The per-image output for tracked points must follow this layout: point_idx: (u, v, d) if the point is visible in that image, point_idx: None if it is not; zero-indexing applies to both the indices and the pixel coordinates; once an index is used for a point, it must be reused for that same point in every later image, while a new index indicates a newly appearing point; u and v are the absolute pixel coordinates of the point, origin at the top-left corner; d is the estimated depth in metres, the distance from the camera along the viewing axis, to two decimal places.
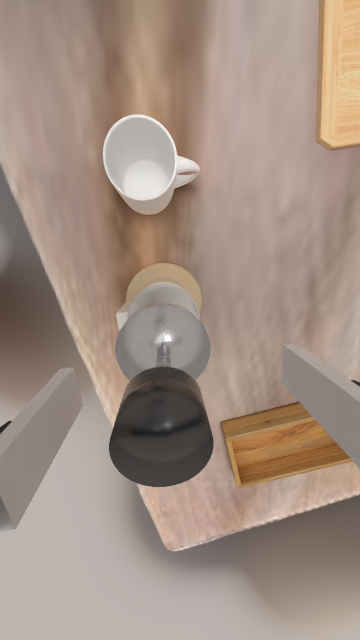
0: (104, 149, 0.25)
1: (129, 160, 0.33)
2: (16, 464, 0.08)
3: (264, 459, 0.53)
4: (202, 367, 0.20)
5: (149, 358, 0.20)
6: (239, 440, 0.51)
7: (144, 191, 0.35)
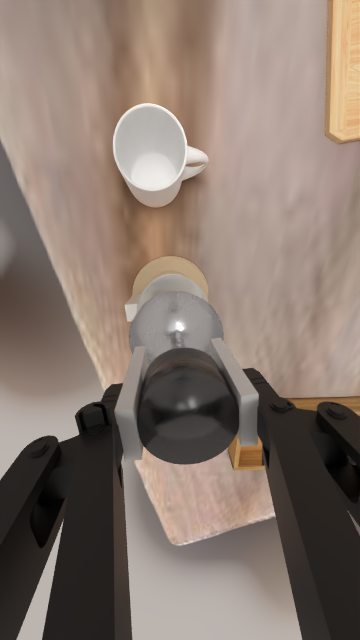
0: (114, 138, 0.25)
1: (137, 152, 0.33)
2: (137, 411, 0.10)
3: None
4: None
5: (162, 346, 0.20)
6: None
7: (151, 183, 0.35)
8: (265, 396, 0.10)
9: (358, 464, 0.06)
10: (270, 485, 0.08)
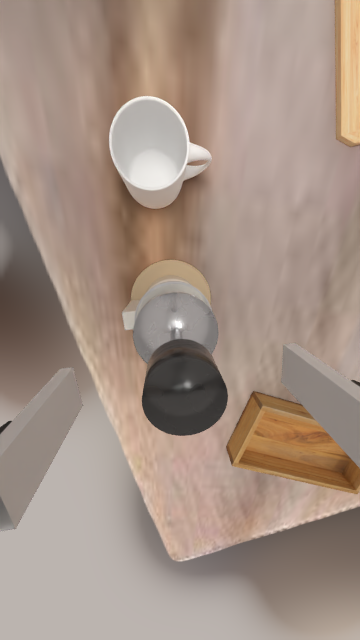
0: (110, 134, 0.23)
1: (135, 150, 0.31)
2: (16, 464, 0.08)
3: (262, 452, 0.49)
4: (211, 350, 0.22)
5: (163, 341, 0.22)
6: None
7: (151, 184, 0.33)
8: None
9: None
10: None
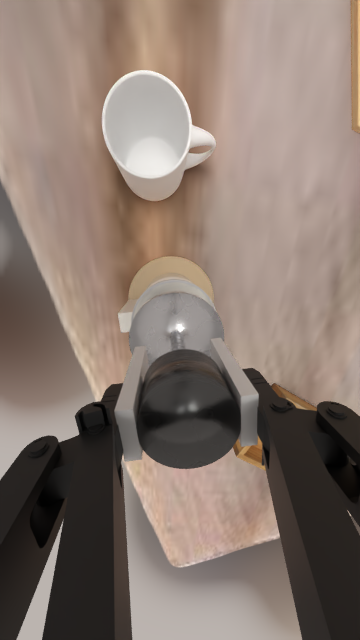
0: (103, 114, 0.20)
1: (132, 136, 0.28)
2: None
3: None
4: None
5: (162, 347, 0.19)
6: None
7: (149, 174, 0.31)
8: (265, 396, 0.10)
9: (358, 464, 0.06)
10: (270, 485, 0.08)
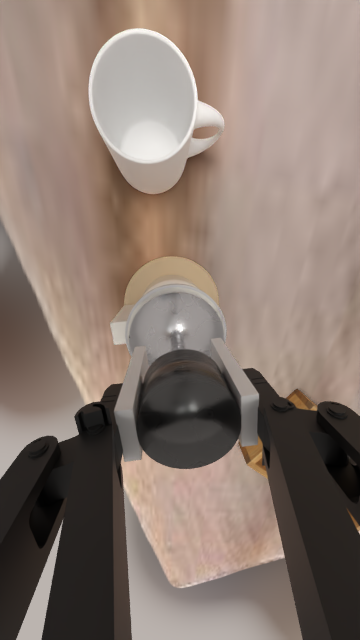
0: (90, 84, 0.17)
1: (128, 119, 0.25)
2: (137, 411, 0.10)
3: None
4: None
5: (162, 347, 0.19)
6: None
7: None
8: (265, 396, 0.10)
9: (358, 464, 0.06)
10: (270, 485, 0.08)
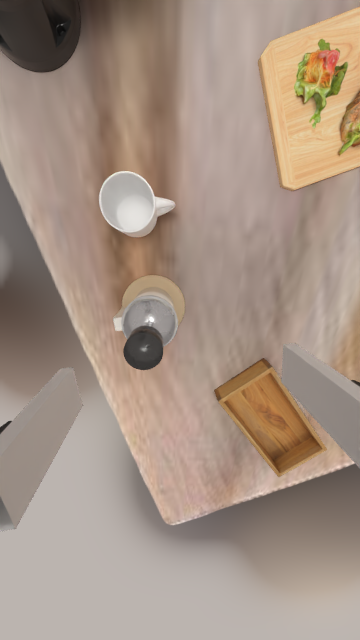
0: (100, 196, 0.33)
1: (120, 196, 0.41)
2: (16, 464, 0.08)
3: (235, 409, 0.58)
4: (171, 334, 0.36)
5: None
6: None
7: (133, 218, 0.44)
8: None
9: None
10: None
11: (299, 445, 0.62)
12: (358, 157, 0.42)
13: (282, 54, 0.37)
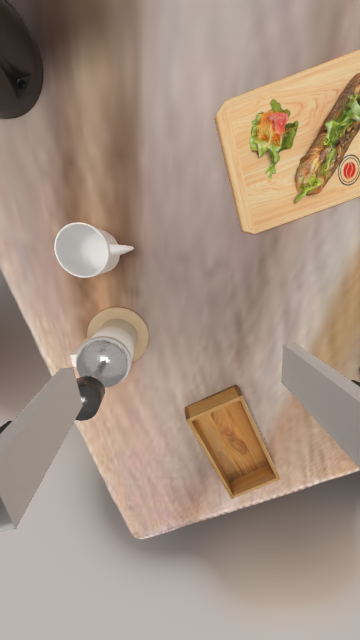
0: (55, 245, 0.35)
1: (83, 235, 0.43)
2: (16, 464, 0.08)
3: (202, 429, 0.60)
4: (123, 374, 0.38)
5: (94, 369, 0.37)
6: None
7: (97, 255, 0.46)
8: None
9: None
10: None
11: (256, 471, 0.65)
12: (313, 205, 0.44)
13: (236, 113, 0.39)
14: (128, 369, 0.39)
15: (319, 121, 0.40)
